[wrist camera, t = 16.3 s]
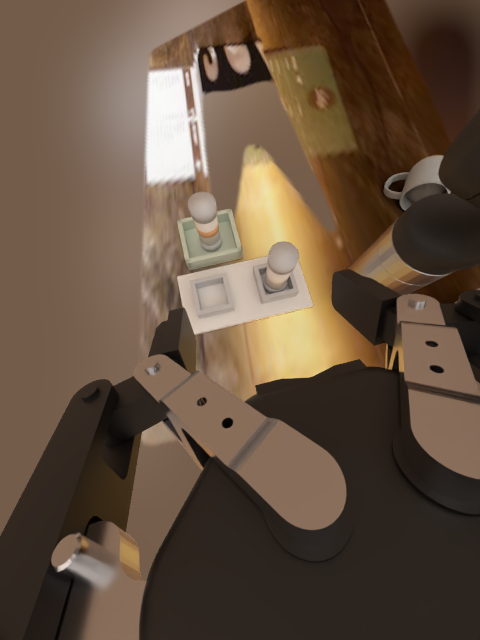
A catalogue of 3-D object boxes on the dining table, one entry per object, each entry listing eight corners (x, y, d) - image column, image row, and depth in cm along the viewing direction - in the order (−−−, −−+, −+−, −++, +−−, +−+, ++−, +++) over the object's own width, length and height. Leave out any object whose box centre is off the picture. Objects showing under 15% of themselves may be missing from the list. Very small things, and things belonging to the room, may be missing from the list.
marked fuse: (219, 230, 47) (212, 189, 36) (224, 249, 46) (218, 212, 36) (198, 235, 47) (185, 194, 36) (202, 254, 46) (190, 218, 35)
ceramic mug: (434, 187, 50) (467, 154, 42) (427, 218, 48) (460, 190, 40) (385, 174, 51) (409, 140, 43) (377, 204, 49) (400, 174, 42)
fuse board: (293, 252, 47) (297, 242, 43) (311, 307, 44) (317, 301, 40) (178, 278, 46) (173, 271, 42) (189, 336, 43) (184, 333, 40)
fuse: (281, 270, 45) (294, 238, 34) (288, 291, 44) (302, 265, 33) (260, 276, 44) (265, 245, 34) (266, 296, 43) (273, 272, 33)
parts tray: (231, 218, 49) (231, 208, 46) (242, 258, 46) (242, 250, 43) (181, 229, 48) (176, 220, 45) (189, 270, 46) (185, 263, 43)
